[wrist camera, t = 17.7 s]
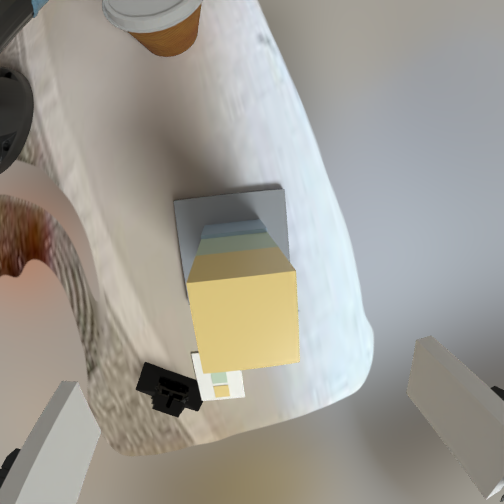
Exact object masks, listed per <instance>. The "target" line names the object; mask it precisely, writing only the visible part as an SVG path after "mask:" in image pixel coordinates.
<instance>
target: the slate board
mask: <svg viewBox="0 0 504 504" xmlns="http://www.w3.org/2000/svg"><path fill="white" fill-rule="evenodd" d="M174 208H175V216H176V224H177V231H178V238H179V245H180V252H181V259H182V265H183V272H184V278H185V284H186V283H187V280H188V277H189V274H190V271H191V268H192V265H193V262H194V259H195V256H196V253H197V250H198V247H199V244H200V241H201V234H202V231H203V228H204V226H205V225H211V224H220V223H228V222H238V221H247V220H256V219H260V220H261V221H262V222H263V224H264V225H265V226H266V227H267V232H268V234H269V235H270V236H271V238H272V239H273V240H274V242H275V243H276V244H277V246H278V247H279V248H280V250H281V251H282V253H283V254H284V255H285V257H286V258H287V259H288V261H289V262H290V256H289V242H288V228H287V215H286V202H285V190H284V189H275V190H264V191H253V192H243V193H234V194H224V195H215V196H207V197H198V198H190V199H183V200H175V201H174ZM186 290H187V285H186ZM187 296H188V291H187ZM188 302H189V297H188ZM189 305H190V302H189Z"/></svg>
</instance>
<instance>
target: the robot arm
mask: <svg viewBox="0 0 504 504" xmlns="http://www.w3.org/2000/svg"><path fill="white" fill-rule="evenodd" d="M48 1H49V0H0V53H1V52H2V50H3V49H4V48H5V47H6V46H7V45H8V43H9V42H10V41H11V40H12V39H13V38H14V37H15V36H16V34H17V33H18V32H19V31H20V30H21V29H22V28H23V27H24V26H25V25H26V24H27V23H28V22H29V21H30V20H31V19H32V18H35V17H36V16H37V14H38V11H39V10H40V9H41V8H42V7H43V6H44V5H45V4H46V3H47V2H48ZM32 117H33V95H32V90H31V87H30V85H29V83H28V81H27V79H26V78H25V77H24V76H23V75H22V74H21V73H19V72H17V71H14V70H12V69H10V68H5V67H0V174H1V173H2V172H4V171H5V170H6V169H8V167H9V166H11V164H12V163H13V162H14V161H15V160H16V158H17V157H18V155H19V154H20V152H21V150H22V148H23V146H24V144H25V142H26V140H27V137H28V134H29V131H30V127H31V123H32ZM406 393H407V395H408V396H409V397H410V398H411V400H412V401H413V402H414V404H415V405H416V406H417V408H418V409H419V410H420V411H421V413H422V414H423V415H424V417H425V418H426V419H427V421H428V422H429V423H430V424H431V426H432V427H433V428H434V430H435V431H436V432H437V434H438V435H439V436H440V438H441V439H442V440H443V442H444V443H445V444H446V446H447V447H448V448H449V450H450V451H451V452H452V454H453V455H454V456H455V458H456V459H457V461H458V462H459V463H460V465H461V466H462V467H463V469H464V470H465V471H466V473H467V474H468V476H469V477H470V478H471V480H472V481H473V482H474V484H475V485H476V486H477V488H478V489H479V491H480V492H481V494H482V495H483V497H484V498H485V499H488V498H489V497H491V496H492V495H494V494H495V493H497V492H498V491H500V490H501V489H502V488H503V487H504V390H502V389H500V388H498V387H496V386H494V387H492V388H489V387H488V386H487V385H486V384H485V383H484V382H483V381H482V380H481V379H479V378H478V377H477V376H476V375H475V374H474V373H473V372H472V371H471V370H469V369H468V368H467V367H466V366H465V365H464V364H463V363H462V362H461V361H460V360H458V359H457V358H456V357H455V356H454V355H453V354H452V353H451V352H449V351H448V350H447V349H446V348H445V347H444V346H442V345H441V344H440V343H439V342H438V341H437V340H436V339H435V338H433V337H432V336H428V337H425V338H421V339H418V340H416V344H415V350H414V356H413V362H412V367H411V372H410V377H409V382H408V387H407V391H406ZM100 433H101V430H100V428H99V426H98V424H97V422H96V420H95V418H94V416H93V414H92V412H91V410H90V408H89V406H88V404H87V401H86V399H85V397H84V395H83V393H82V391H81V388H80V386H79V383H78V382H75V381H62V382H61V383H60V385H59V386H58V388H57V390H56V391H55V393H54V394H53V396H52V398H51V399H50V401H49V402H48V404H47V406H46V407H45V409H44V411H43V412H42V414H41V416H40V417H39V419H38V421H37V422H36V424H35V426H34V427H33V429H32V431H31V433H30V435H29V436H28V438H27V440H26V441H25V443H24V445H23V447H22V449H17V448H16V449H15V450H14V451H13V452H11V453H10V454H9V455H8V456H7V457H6V459H5V461H4V463H3V465H2V466H1V467H2V469H0V504H77V500H78V497H79V494H80V491H81V488H82V485H83V482H84V479H85V476H86V473H87V470H88V467H89V464H90V461H91V458H92V455H93V453H94V449H95V447H96V444H97V442H98V439H99V436H100ZM503 501H504V495H503V496H502V498H501V501H500V502H503Z"/></svg>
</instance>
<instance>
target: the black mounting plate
mask: <svg viewBox="0 0 504 504" xmlns="http://www.w3.org/2000/svg"><path fill="white" fill-rule="evenodd" d="M136 390H137V391H140V392H143V393H145V394H148V395H151V396H152V397H151V399H153V400H152V403H151V404H153V408H152V409H155V410H158V411H160V412H163V413H166V414H169V415H172V416H175V417H179V415H180V413H182V411H183V410H184V408H188V409H191V410H195V411H199V409H200V407H201V405H202V402H203V401H202V399H201V395H200V390H199V386H198V382H197V380H195V379H192V378H189V377H186V376H183V375H180V374H177V373H174V372H171V371H169V370H166V369H163V368H160V367H158V366H155V365H152V364H150V363H147V362H145V363H144V366H143V369H142V372H141V375H140V378H139V381H138V384H137V387H136Z"/></svg>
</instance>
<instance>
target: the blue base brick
mask: <svg viewBox="0 0 504 504" xmlns="http://www.w3.org/2000/svg"><path fill="white" fill-rule="evenodd" d="M263 232H267V227H266V226H265V225H264V224H263V222H262V221H261V220H260V219H256V220H247V221H238V222H228V223H220V224H211V225H205V226H204V228H203V231H202V234H201V239H209V238H217V237H226V236H235V235H244V234H254V233H263Z"/></svg>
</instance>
